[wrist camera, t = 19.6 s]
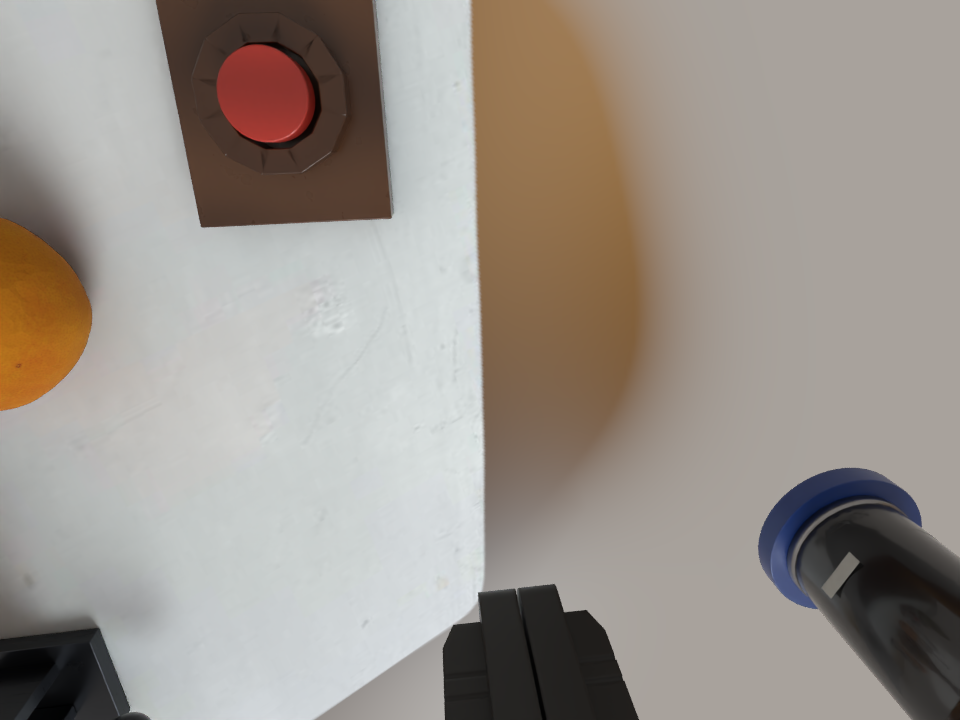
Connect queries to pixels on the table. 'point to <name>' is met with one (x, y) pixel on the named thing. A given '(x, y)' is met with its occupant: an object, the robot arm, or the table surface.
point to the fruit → (37, 317)
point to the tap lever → (133, 716)
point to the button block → (309, 157)
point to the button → (265, 94)
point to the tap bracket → (59, 678)
